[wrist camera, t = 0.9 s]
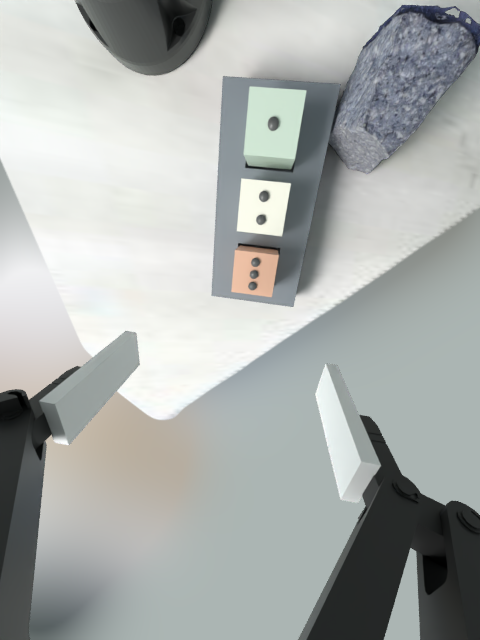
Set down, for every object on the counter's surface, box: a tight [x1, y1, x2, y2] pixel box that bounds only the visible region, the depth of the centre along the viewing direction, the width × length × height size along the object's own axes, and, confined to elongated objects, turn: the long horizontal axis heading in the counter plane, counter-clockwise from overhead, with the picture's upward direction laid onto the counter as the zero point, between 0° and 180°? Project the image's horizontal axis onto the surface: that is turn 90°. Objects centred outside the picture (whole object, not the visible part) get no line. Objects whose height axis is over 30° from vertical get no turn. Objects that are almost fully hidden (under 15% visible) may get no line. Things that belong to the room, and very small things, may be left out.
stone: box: [328, 5, 480, 174], centre depth 23 cm, size 12×10×10 cm
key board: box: [212, 76, 341, 307], centre depth 30 cm, size 24×12×4 cm, turn 174°
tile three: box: [231, 245, 279, 297], centre depth 29 cm, size 5×5×5 cm
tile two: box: [237, 178, 291, 236], centre depth 26 cm, size 5×5×5 cm
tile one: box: [244, 86, 307, 170], centre depth 23 cm, size 5×5×5 cm
